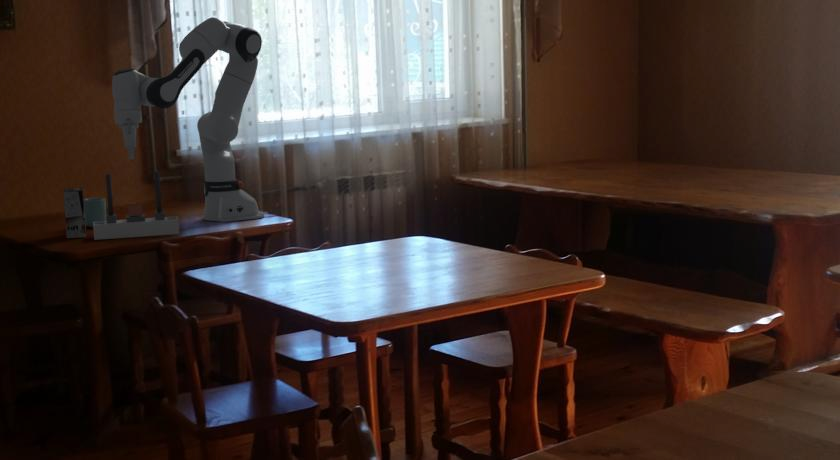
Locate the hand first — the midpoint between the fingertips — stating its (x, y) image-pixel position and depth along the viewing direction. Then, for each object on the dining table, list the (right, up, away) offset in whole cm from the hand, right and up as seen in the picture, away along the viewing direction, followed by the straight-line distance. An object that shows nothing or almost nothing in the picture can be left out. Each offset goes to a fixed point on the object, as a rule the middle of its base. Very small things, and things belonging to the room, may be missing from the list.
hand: (131, 158), depth 356 cm
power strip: (+1, -26, +5) cm, 26 cm away
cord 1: (-7, -21, +2) cm, 23 cm away
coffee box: (-21, -26, +6) cm, 34 cm away
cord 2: (+8, -20, +6) cm, 23 cm away
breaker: (0, -19, +4) cm, 20 cm away
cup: (-19, -23, +23) cm, 38 cm away
